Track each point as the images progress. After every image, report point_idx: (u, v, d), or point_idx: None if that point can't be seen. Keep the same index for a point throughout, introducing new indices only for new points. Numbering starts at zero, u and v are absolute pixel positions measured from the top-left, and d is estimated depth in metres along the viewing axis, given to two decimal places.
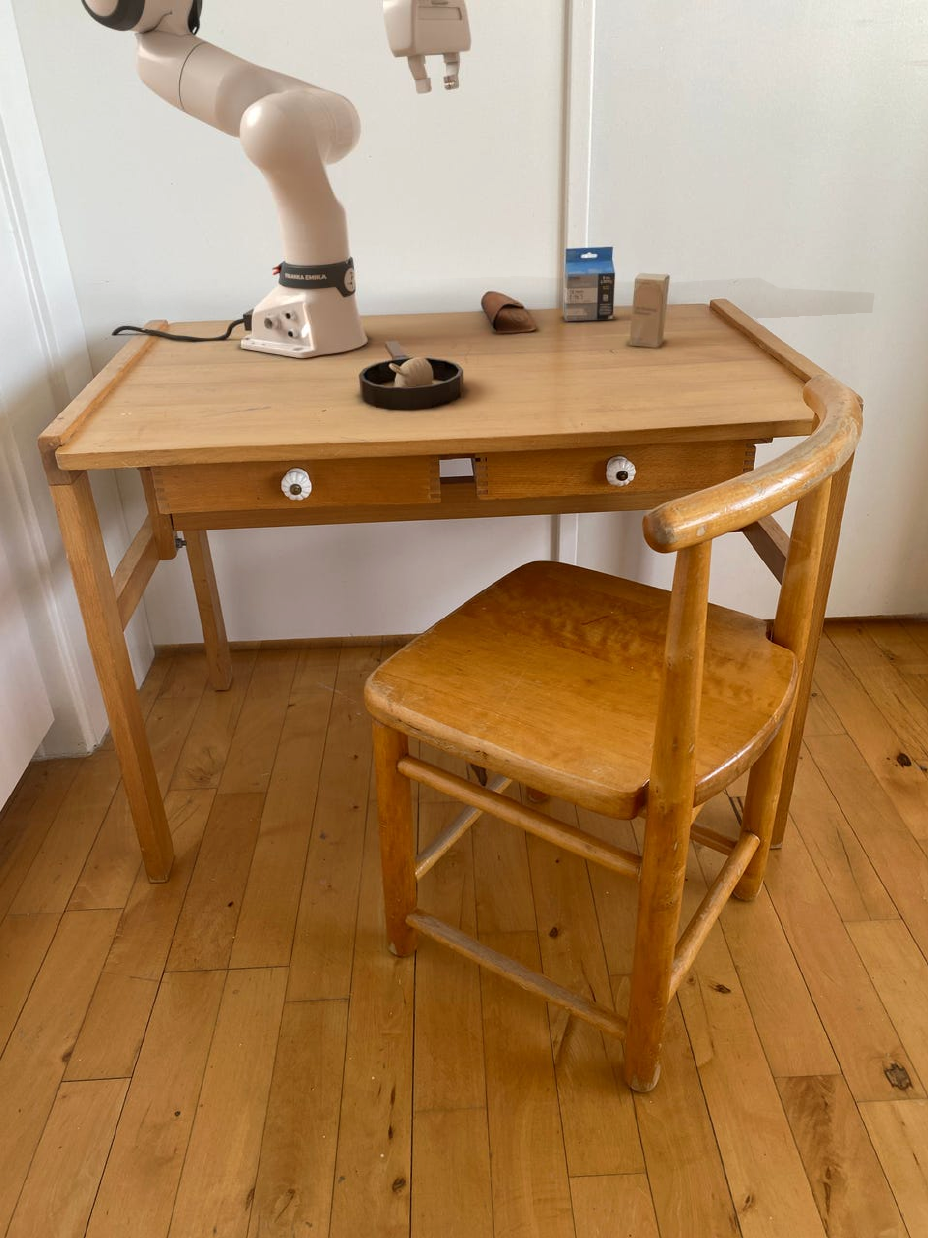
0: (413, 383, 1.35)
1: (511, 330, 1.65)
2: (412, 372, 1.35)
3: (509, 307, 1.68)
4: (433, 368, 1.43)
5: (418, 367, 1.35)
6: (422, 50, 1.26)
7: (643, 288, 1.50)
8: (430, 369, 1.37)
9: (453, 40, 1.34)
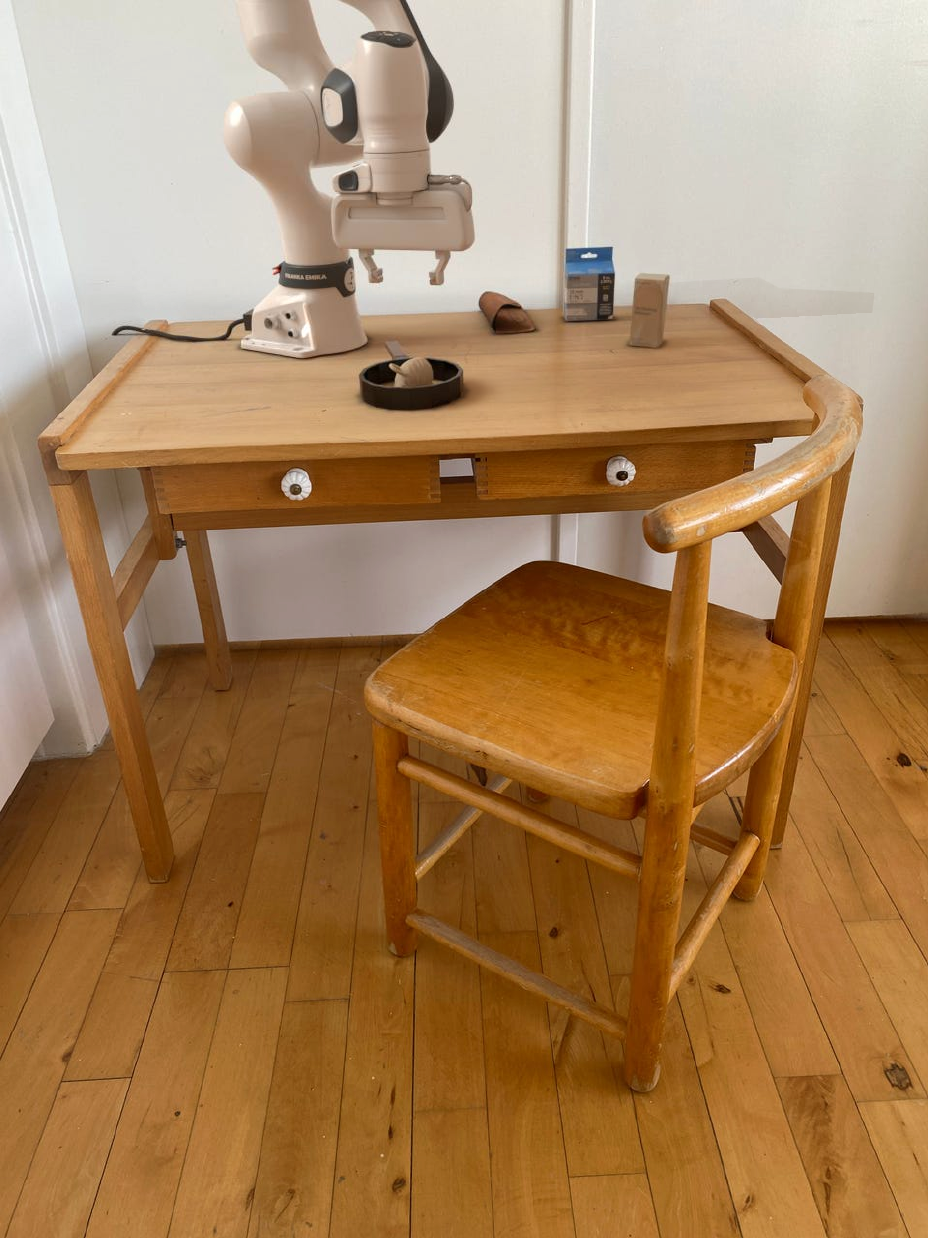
0: (413, 383, 1.35)
1: (510, 330, 1.65)
2: (412, 372, 1.35)
3: (508, 307, 1.68)
4: (433, 368, 1.43)
5: (418, 367, 1.35)
6: (351, 246, 1.28)
7: (643, 288, 1.50)
8: (430, 369, 1.37)
9: (418, 240, 1.24)
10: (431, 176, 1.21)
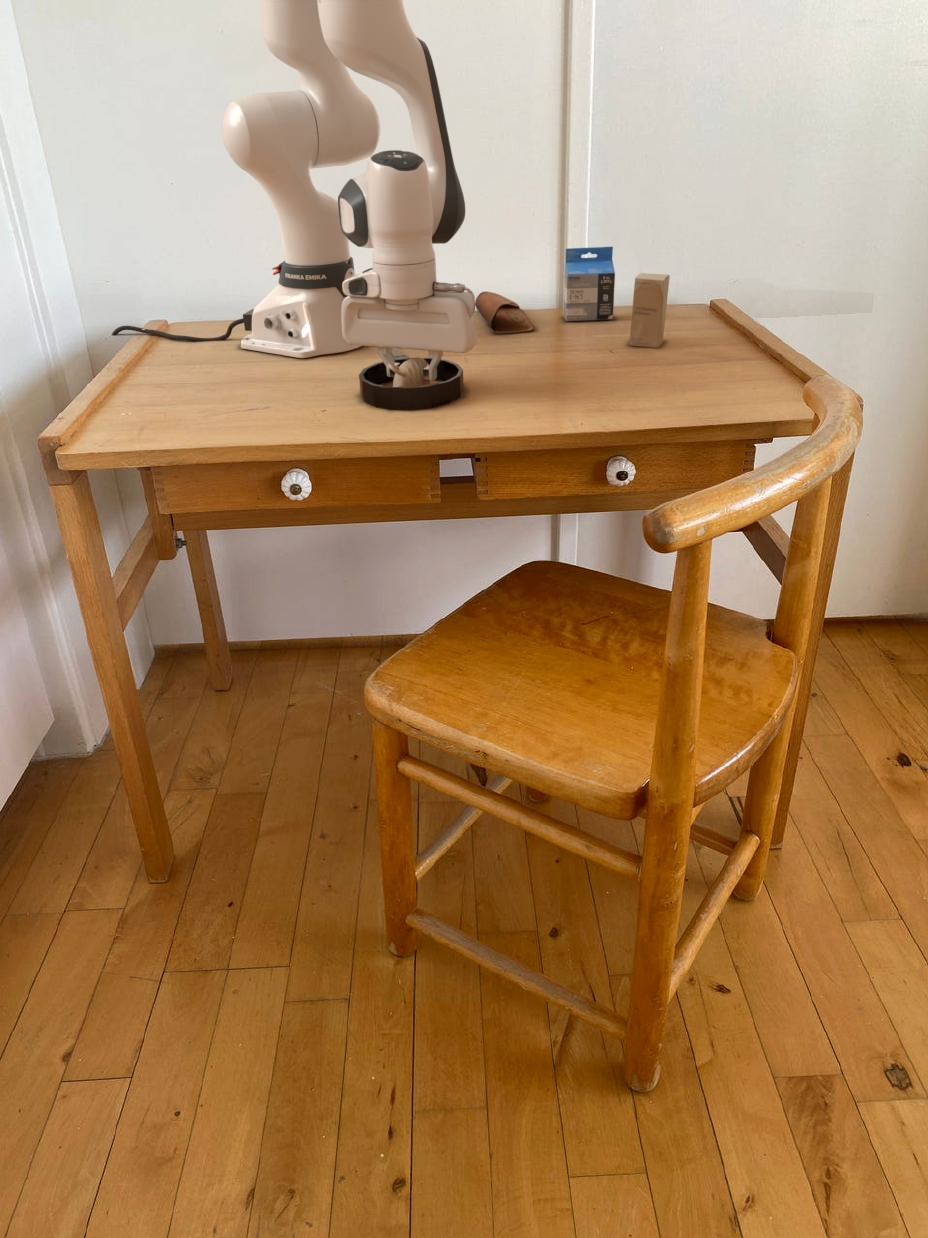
0: (412, 383, 1.35)
1: (509, 330, 1.65)
2: (410, 372, 1.35)
3: (506, 307, 1.68)
4: None
5: (417, 367, 1.35)
6: (360, 343, 1.35)
7: (643, 288, 1.50)
8: None
9: (424, 341, 1.31)
10: (436, 284, 1.28)
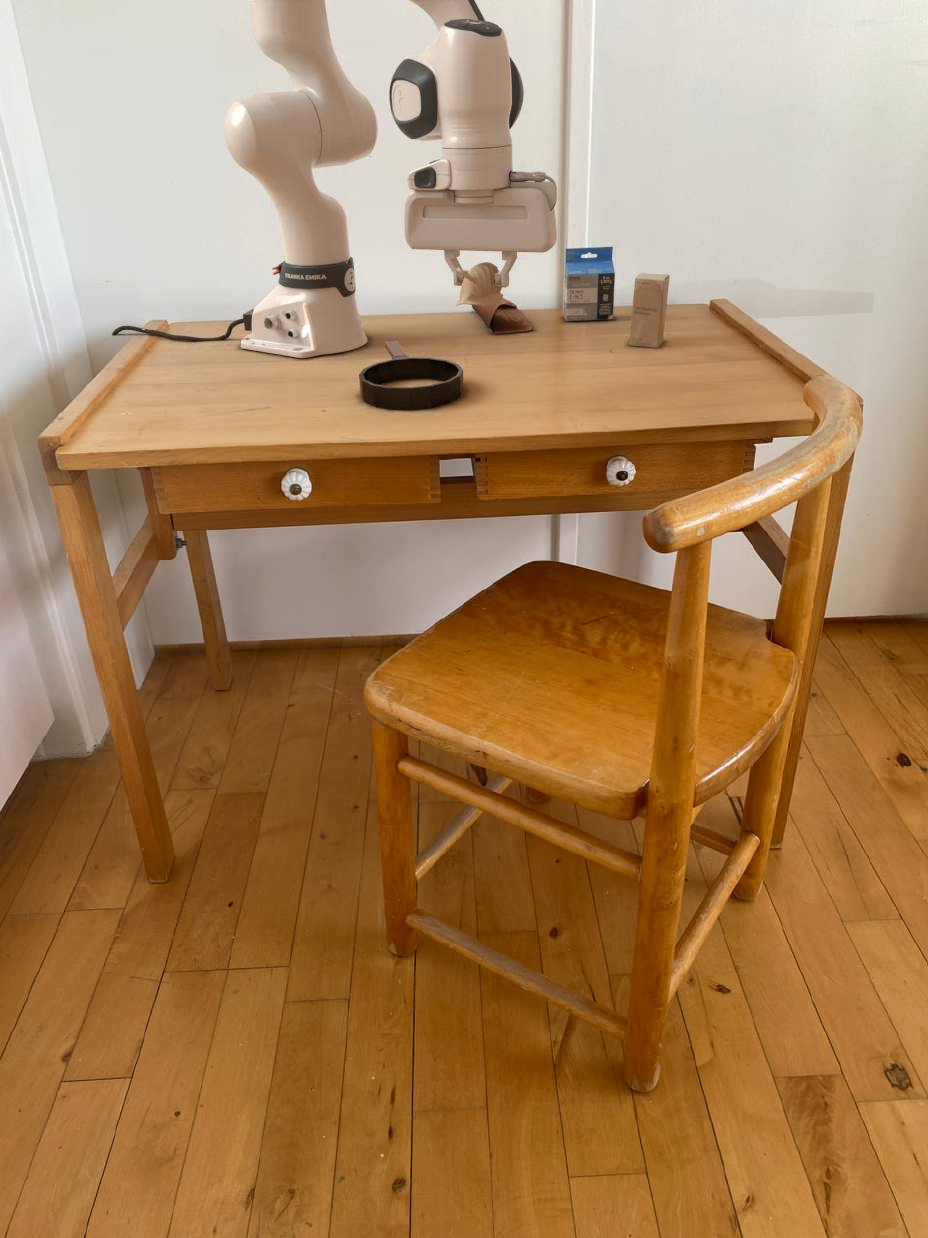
0: (482, 290, 1.22)
1: (508, 330, 1.65)
2: (481, 278, 1.21)
3: (504, 307, 1.68)
4: (433, 368, 1.43)
5: (487, 272, 1.21)
6: (425, 247, 1.22)
7: (643, 288, 1.50)
8: None
9: (498, 240, 1.18)
10: (513, 173, 1.14)
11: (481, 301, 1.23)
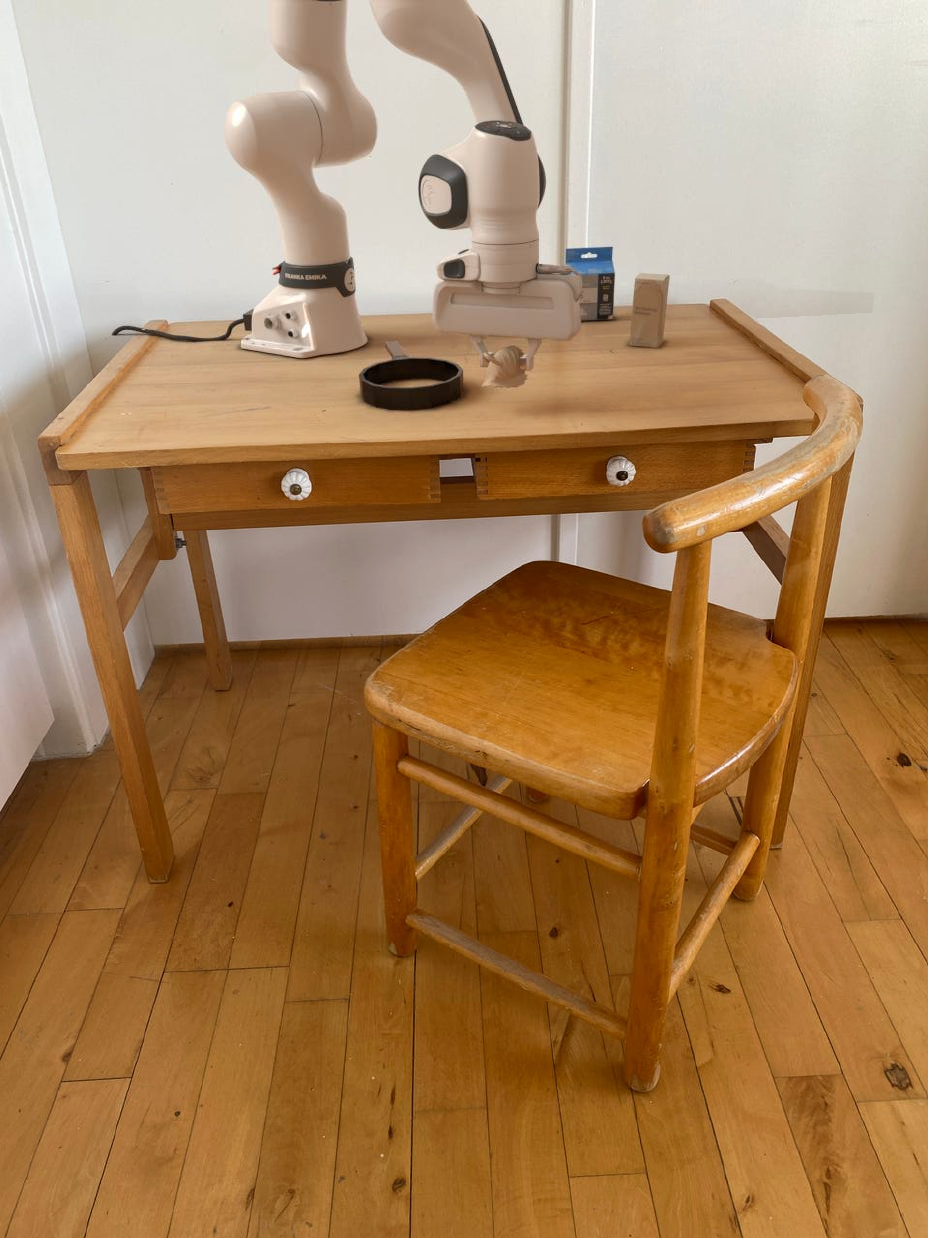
0: (507, 373, 1.26)
1: None
2: (507, 362, 1.25)
3: None
4: (433, 368, 1.43)
5: (513, 356, 1.25)
6: (452, 331, 1.26)
7: (643, 288, 1.50)
8: None
9: (524, 328, 1.22)
10: (540, 265, 1.18)
11: (506, 383, 1.27)
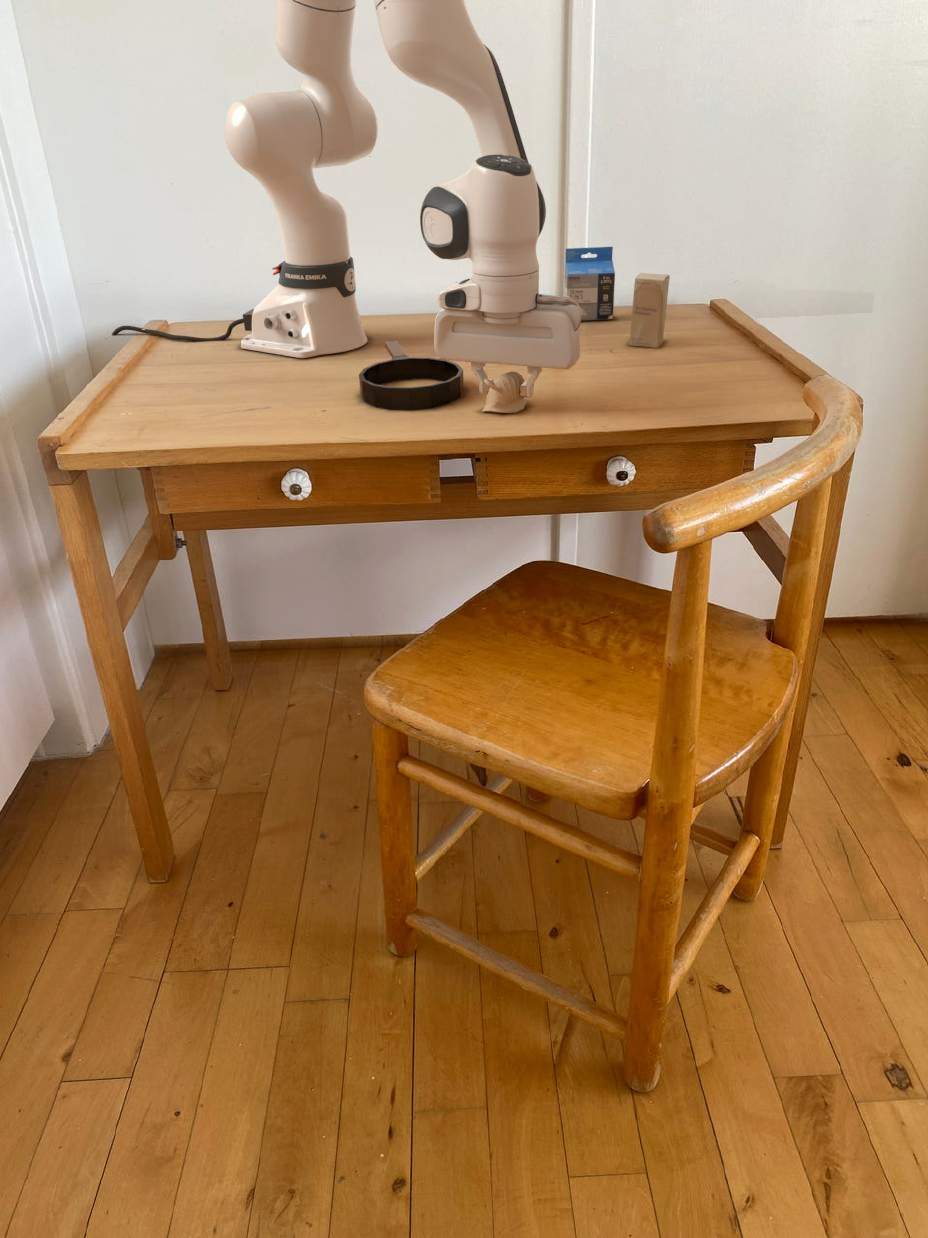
0: (507, 399, 1.28)
1: None
2: (507, 388, 1.27)
3: None
4: (433, 368, 1.43)
5: (513, 382, 1.27)
6: (453, 358, 1.28)
7: (643, 288, 1.50)
8: None
9: (524, 356, 1.24)
10: (540, 296, 1.20)
11: (506, 408, 1.29)
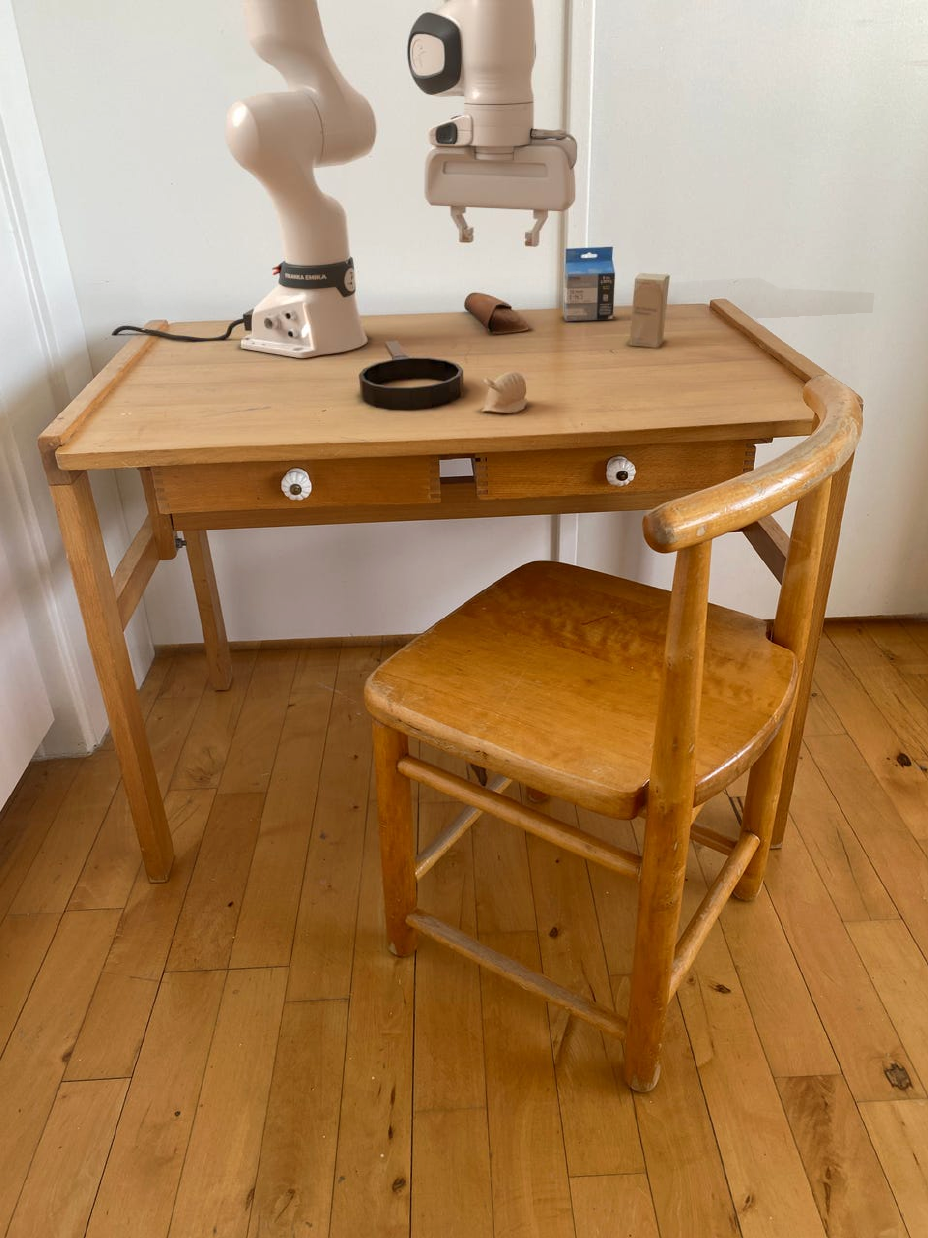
0: (507, 399, 1.28)
1: (505, 330, 1.65)
2: (507, 388, 1.27)
3: (500, 308, 1.68)
4: (433, 368, 1.43)
5: (513, 382, 1.27)
6: (444, 203, 1.23)
7: (643, 288, 1.50)
8: (524, 384, 1.29)
9: (517, 198, 1.19)
10: (534, 130, 1.15)
11: (506, 408, 1.29)
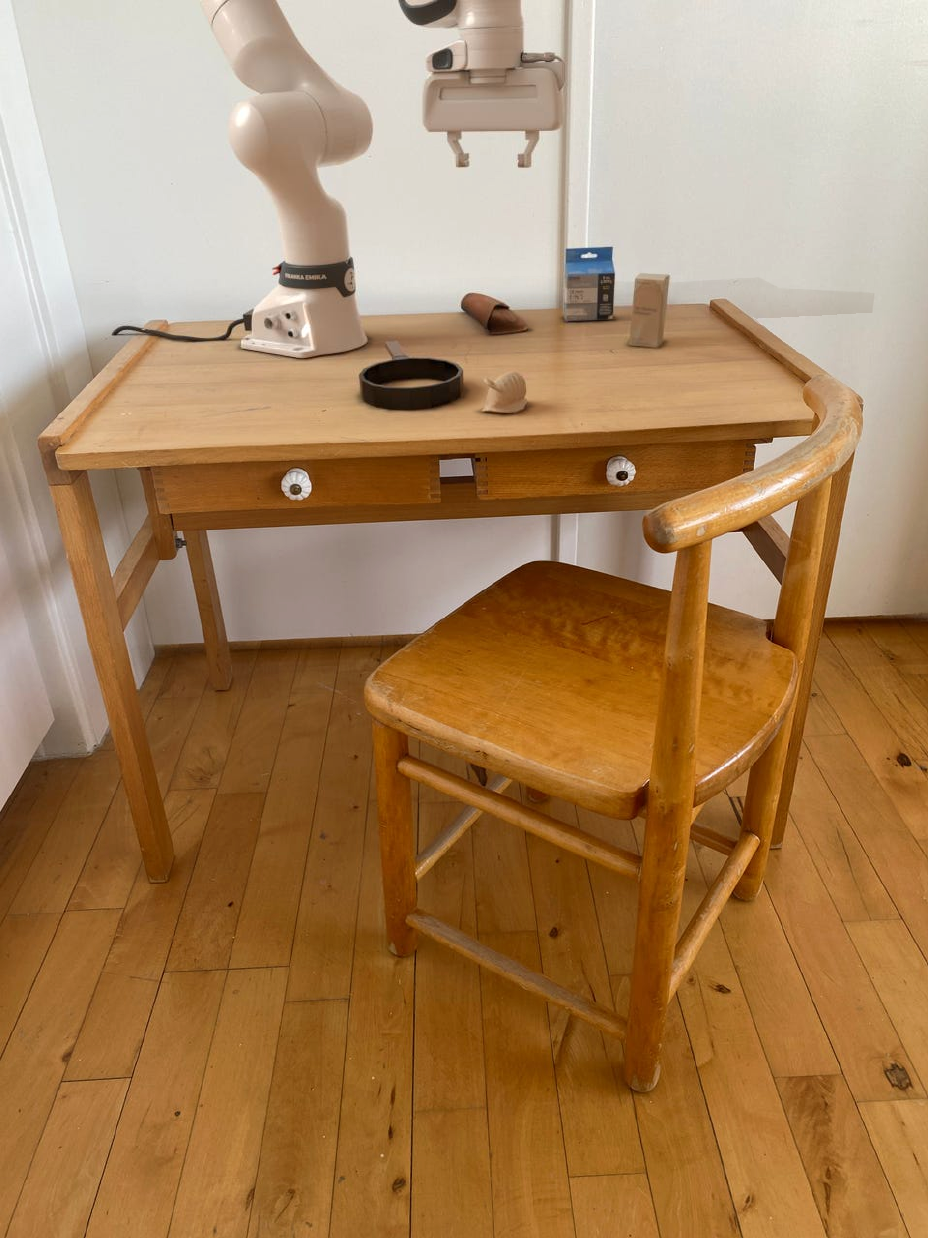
0: (507, 399, 1.28)
1: (504, 331, 1.65)
2: (507, 388, 1.27)
3: (498, 308, 1.68)
4: (433, 368, 1.43)
5: (513, 382, 1.27)
6: (441, 129, 1.30)
7: (643, 288, 1.50)
8: (524, 384, 1.29)
9: (509, 119, 1.26)
10: (525, 54, 1.23)
11: (506, 408, 1.29)
